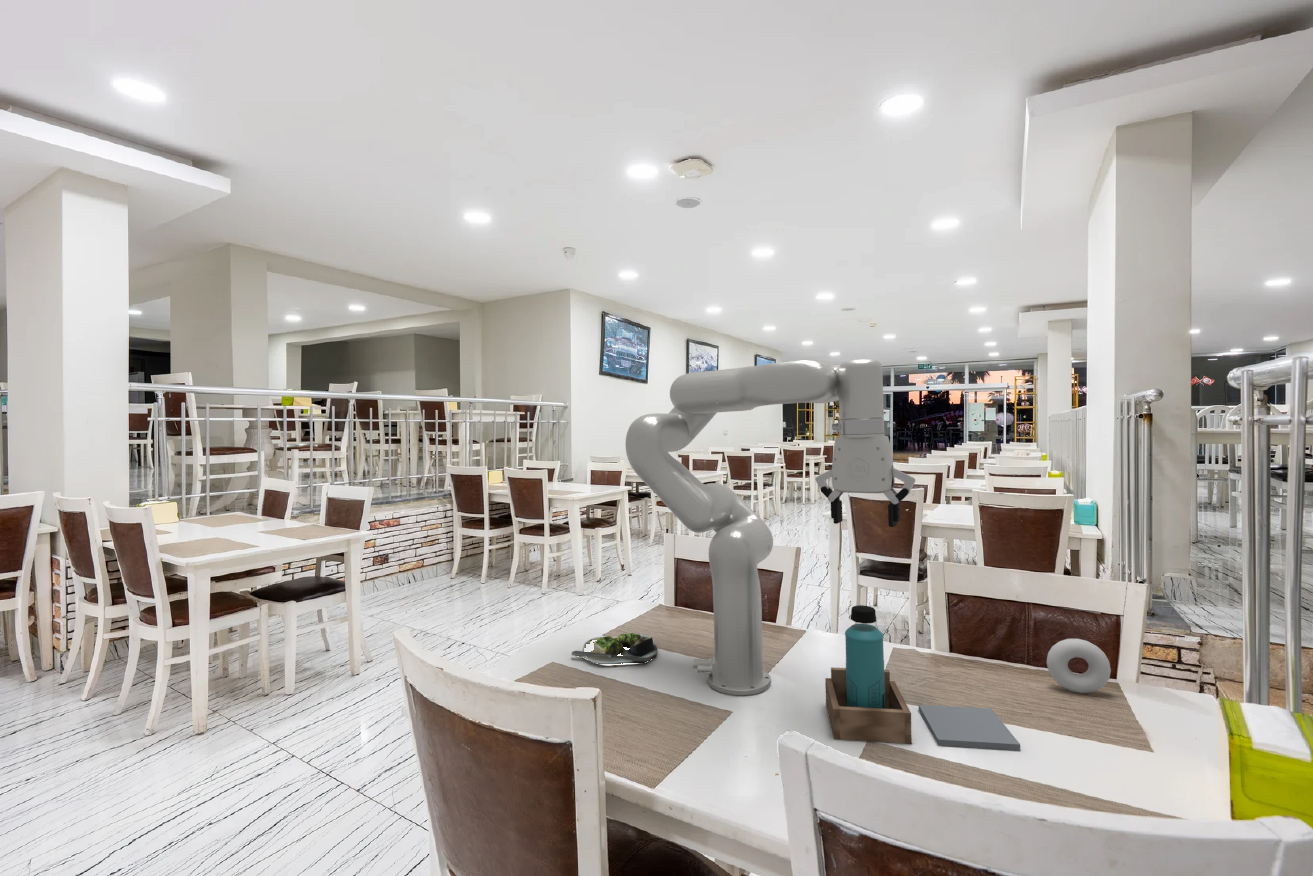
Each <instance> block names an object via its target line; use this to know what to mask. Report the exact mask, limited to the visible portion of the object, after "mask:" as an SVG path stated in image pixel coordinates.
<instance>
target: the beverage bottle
mask: <svg viewBox="0 0 1313 876" xmlns="http://www.w3.org/2000/svg"><path fill="white" fill-rule="evenodd" d="M850 613H851V614H850V620H851V621H853V622H854V624H851V625H850V626H849V627H848V628H847V629H846V630H845V631H844V636H845V668H846V670H845V671H846V673H845V674H846V677H845V678H846V682H845V683H846V687H847V699H846V701H847V703H846V705H847V706H846V707H861V708H879V709H885V708H886V707H885V705H886V702H885V696H886V694H885V690H886V689H885V688H886V685H885V684H886V679H885V677H886V676H885V677H884V675H885V674H884V673H885V672H884V670H885V659H884V658H885V657H884V656H885V655H884V634H883V632H882V631H881V630H880V629H879V628H878V627H876V626H874V625H872V624H875V623H876V622H877V615H876V614H877V612H876V609H875V608H874V607H872V606H870V605H863V604H860V605H853V606H852V607H851V610H850Z"/></svg>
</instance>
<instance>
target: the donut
mask: <svg viewBox="0 0 1313 876" xmlns="http://www.w3.org/2000/svg"><path fill="white" fill-rule="evenodd" d="M1074 658H1080V659H1083V660H1085V661H1086V663H1087V665H1088V668H1087V669H1086V671H1085V672H1082V673H1075V672H1073V671H1072V670H1070V668H1069V665H1068V663H1069V662H1070V660H1072V659H1074ZM1046 665H1047V670H1048V672H1049V674H1050V675H1051V677H1052V679H1053V680H1054V681H1055V682H1056V683H1057V684H1059V686H1061V687H1063V688H1064V689H1066V690H1068V691H1070V692H1075V693H1077V694H1090V693H1093V692H1097V691H1099V690H1100V689H1102V688H1103V687H1105V686H1106V684H1107V683H1108V682H1109V680H1110V677H1111V672H1112V669H1111V663H1110V660H1109V659H1108V657H1107V655H1106V654H1105V652H1104V651H1102V649H1101V648H1100V647H1098V646H1097V645H1095V644H1093V643H1091V642H1090V641H1088V640H1085V639H1080V638H1066V639H1063V640H1060V641H1057V642H1056V643H1055V644H1054V645H1052V646H1051V648H1050V649H1049V651H1048V652H1047V657H1046Z"/></svg>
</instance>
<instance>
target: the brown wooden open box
mask: <svg viewBox="0 0 1313 876" xmlns="http://www.w3.org/2000/svg"><path fill="white" fill-rule="evenodd" d="M845 670H846V667H833V666H832V667H830V677H825V679H824V680H825V707H826V711H827V716H828V721H829V724H830V728H831V733H832V737H833V740H838V741H839V740H843V741H854V742H855V741H859V742H872V743H873V742H874V743H886V744H887V743H888V744H889V743H890V744H905V745H906V744H907V745H912V712H911V709H910V708H909V706H908V704H907V703H906V701H905V698H904V697H903V695H902V692H901V691H900V689H899V688H898V685H897V683H896V682H895V681H894V680H891V672H890V670H889V669H884V672H885V673H884V674H885V675H884V677H885V676H886V677H885V679H886V684H885V685H886V688H885V689H886V690H885V694H886V696H885V702H886V705H885V707H886V708H885V709H879V708H861V707H846V706H847V705H846V703H847V701H846V699H847V687H846V683H845V682H846V678H845V677H846V674H845V673H846V671H845Z"/></svg>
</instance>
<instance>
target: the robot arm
mask: <svg viewBox="0 0 1313 876" xmlns="http://www.w3.org/2000/svg"><path fill="white" fill-rule="evenodd" d="M883 380H884V377H883V366H882V363H881V362H880V361H879V360H878V359H872V358H871V359H869V358H864V359H863V358H862V359H861V358H860V359H851V360H846V361H843V362H841V363H839V364H832V363H831V364H830V363H825V362H822V361H818V360H813V359H804V360H803V359H802V360H792V361H791V360H790V361H784V362H783V361H782V362H774V363H765V364H759V365H749V366H743V367H735V368H725V369H715V370H705V371H697V372H696V371H695V372H689V373H688V372H687V373H685V374H682V375H680V376H678V377H676V378H675V380H673V382H672V384H671V385H670V389H669V399H670V402H671V403H672V406H673V408H672V409H671V410H670V411H669V412H668V413H648V414H644V415H640V416H639V417H637V418H636V419H635V420H633V421H632V422H631V423H630V425H629V427H628V430H627V432H626V435H625V452H626V457H627V460H628V463H629V465H630V468H632V470H633V471H634V473H635V474H636V475H637V477H638V478H639V479H640V480H641V481H642V482H643V483H644V484H645V485H646V486H647V487H648V488H649V489H650V490H651V491H652V492H653V493H654V494H655V495H656V496H657V497H658V498H659V499H660V501H661V502H662V503H663V504H664V505H665V506H666V507H667V508H668V509H669V510H670V511H671V512H672V514H673V515H675V517H676V518H677V519H678V520H679V521H680V522H681V523H682V525H684V526H685V527H686V528H687V529H688V530H689V531H690V532H693V533H698V534H699V533H701V534H703V533H707V532H711V531H712V530H713V531H714V532H715V534H714V535H713V537H712V538H711V540H710V542H709V546H708V562H709V563H708V564H709V567H710V568H709V569H710V573H711V581H712V601H713V602H712V605H713V641H714V644H713V645H714V653H713V657H708V659H707V658H706V659H705V658H704V659H703V658H695V657H694V658H693V659H692V668H693V669H697V673H707V676H706V677H707V684H708V685H709V686H710V688H712V689H714V690H716V691H717V692H719V693H720V692H721V693H723V694H727V695H733V696H750V695H757V694H759V693H762V692H765V691H766V690H768V688H770V686H771V684H772V678H771V675H770V674H769V672H767V670H764V667H763V666H764V665H763V664H764V661H763V654H764V653H763V618H762V617H763V614H762V610H763V609H762V589H761V582H760V577H759V572H758V564H759V563H761V562H763V561H764V560H765V559H767V558H768V557H769V555H770V554H771V552H772V550H773V548H774V538H773V534H772V531H771V530H770V528H769V526H768V525H767V524H766V523H765V522H764V520H763V519H761V517H760V516H759V515H758V514H757V513H756V512H755V511H754V510H753V509H752V508H750V506H749V505H748V504H747V503H746V502H745V501H744V500H743V499H742V497H740V496H738V495H737V493H735V491H733V490H732V489H731V488H729V487H728V486H726V485H724V484H721V483H717V482H711V483H706V484H705V483H703V482H701V480H699V479H698V478H697V477H696V476H695V475H694V474H693V473H692V472H691V471H690V470H689V468H687V467H686V466H685V465H684V464H683V463H681V462H680V461H679V460H677V459H676V458H674V457H673V456H672V455H671V454H670V453H675V452H678V451H681V450H683V449H684V448H686V447H688V445H690V444H691V443H692V442H693V440H694V439H695V438H696V437H697V436H698V435H700V433H701V432H702V431H703V429H705V427H706V426H707V425H708V423H710V422H711V420H712V419H713V418H714V417H715V416H716V414H717V413H728V412H731V413H732V412H746V411H751V410H754V409H756V408H758V407H763V406H764V407H765V406H772V405H786V404H801V403H803V404H805V403H806V404H808V403H812V404H827V403H832V402H837V401H838V402H839V403H838V404H839V405H838V407H839V408H838V409H839V411H838V412H839V419H838V422H836V423H833V424H831V430H832V431H833V432H835V431H836V432H838V435H839V437H835V439H834V444H833V453H832V466H831V469H829V470H828V471H826V472H823V473H822V474H820V475H818V476H815V482H816V483H817V486H818V488H819V489H820V492H821V493H822V494H823V495H824V496H825V497H826V498H827V500H828V502H829V503H830V518H831V519H833V525H835V524H836V525H838V524H839V523H840V524H841V522H843V519H844V518H843V501H842V499H841V498H840V497H841V496H842V495H843V494H844V493H845V494H846V493H848V494H849V493H851V494H853V493H854V494H883V495H884V496H885V497H886V499H888V501H889V504H888V505H887V513H888V515H887V516H888V517H887V518H888V527H890V528H895V526H898V525H897V524H898V522H900V520H901V513H900V512H901V511H900V510H901V509H900V503H901V502H902V501H903V500H904V499H905V498H907V496H908V495H909V494H910V493H911V490H912V488H913V487H914V485H915V483H916V481H917V480H916V478H915V477H913V476H911V475H909V474H907V473H905V472H903V471H901V470H899V469H897V468H895V467H894V459H893V453H892V447H891V446H892V445H891V442H890V439H889V436H887V435H885V418H884V417H885V413H884V412H885V411H884V385H883V384H884V382H883ZM830 478H831V486H832V488H831V487H829V486H828V483H827V481H828V480H829V479H830ZM895 479H897V480H899V481H902V482H903V486H902V488H901V490H900V491H897V490H896V489H895V481H896V480H895ZM840 499H841V500H840Z"/></svg>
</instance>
